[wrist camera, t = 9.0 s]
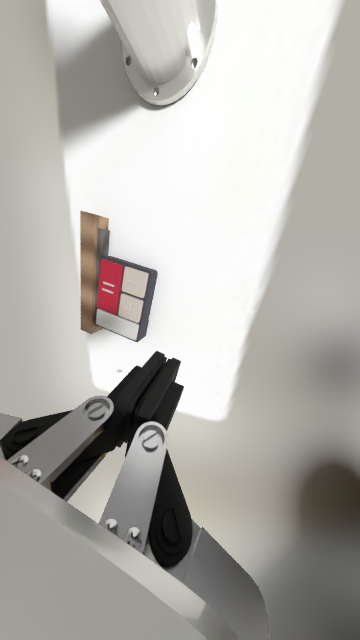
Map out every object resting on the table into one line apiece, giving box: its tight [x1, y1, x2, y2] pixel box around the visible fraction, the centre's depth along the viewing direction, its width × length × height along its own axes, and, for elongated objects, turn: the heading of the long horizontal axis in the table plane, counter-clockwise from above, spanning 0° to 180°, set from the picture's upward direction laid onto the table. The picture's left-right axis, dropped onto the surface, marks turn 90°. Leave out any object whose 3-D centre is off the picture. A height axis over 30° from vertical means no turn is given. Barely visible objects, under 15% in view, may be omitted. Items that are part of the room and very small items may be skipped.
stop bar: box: [81, 211, 109, 334], centre depth 36 cm, size 24×4×4 cm, turn 166°
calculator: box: [95, 256, 157, 342], centre depth 36 cm, size 11×4×15 cm
